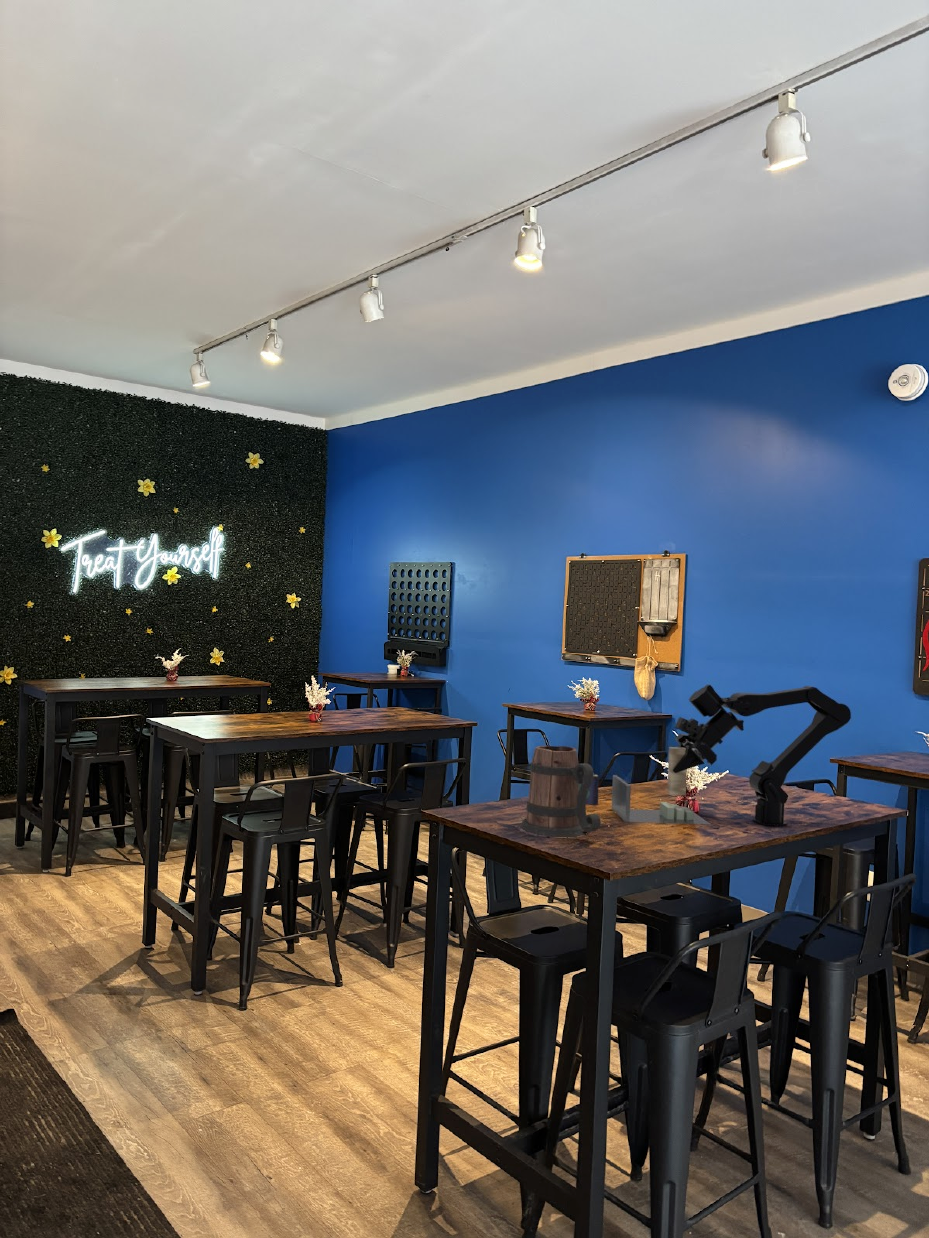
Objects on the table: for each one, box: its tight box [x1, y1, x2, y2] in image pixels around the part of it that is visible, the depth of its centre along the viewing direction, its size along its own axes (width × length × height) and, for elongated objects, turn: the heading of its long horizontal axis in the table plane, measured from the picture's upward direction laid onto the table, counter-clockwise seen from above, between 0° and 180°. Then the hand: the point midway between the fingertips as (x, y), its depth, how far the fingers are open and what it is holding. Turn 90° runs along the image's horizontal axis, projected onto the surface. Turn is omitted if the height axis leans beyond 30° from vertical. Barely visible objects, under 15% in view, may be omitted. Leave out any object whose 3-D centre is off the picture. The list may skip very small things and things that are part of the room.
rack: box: [611, 774, 712, 825], centre depth 242 cm, size 22×16×10 cm
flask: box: [579, 769, 600, 806], centre depth 256 cm, size 9×3×11 cm, turn 65°
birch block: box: [666, 746, 688, 796], centre depth 242 cm, size 4×3×12 cm
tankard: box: [519, 745, 602, 838], centre depth 222 cm, size 24×17×20 cm
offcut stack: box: [659, 801, 695, 820], centre depth 242 cm, size 7×7×3 cm
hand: (672, 770), depth 242 cm, fingers closed on birch block, 3 cm apart
